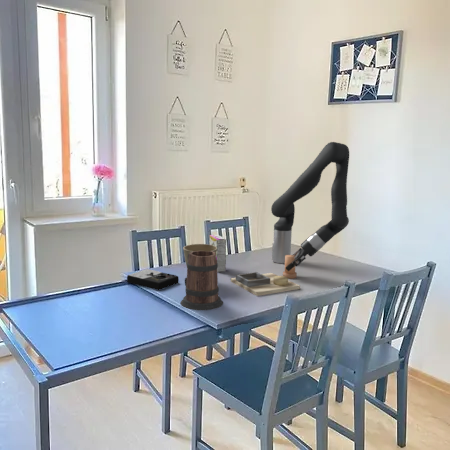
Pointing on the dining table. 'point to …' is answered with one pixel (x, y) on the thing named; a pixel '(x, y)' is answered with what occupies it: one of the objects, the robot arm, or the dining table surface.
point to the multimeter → (152, 279)
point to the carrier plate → (264, 283)
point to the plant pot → (197, 249)
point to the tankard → (202, 282)
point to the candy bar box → (219, 251)
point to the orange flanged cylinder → (291, 273)
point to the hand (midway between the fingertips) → (286, 267)
